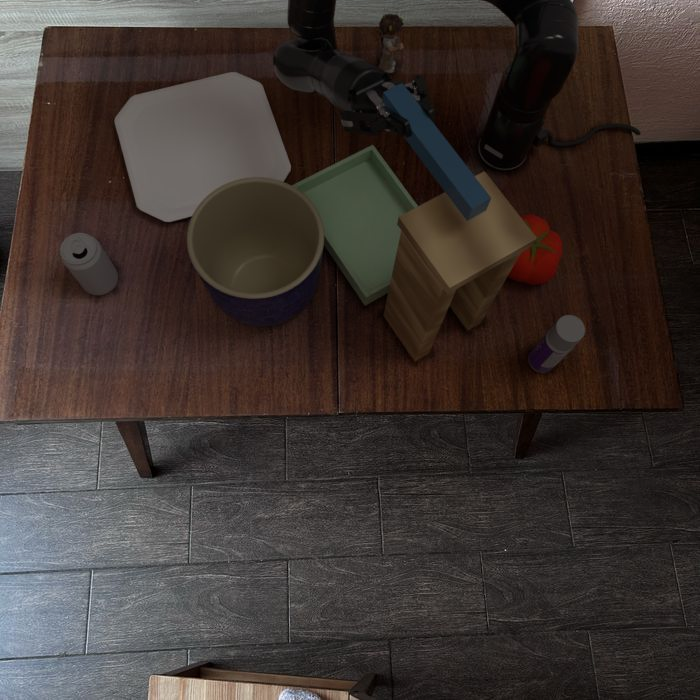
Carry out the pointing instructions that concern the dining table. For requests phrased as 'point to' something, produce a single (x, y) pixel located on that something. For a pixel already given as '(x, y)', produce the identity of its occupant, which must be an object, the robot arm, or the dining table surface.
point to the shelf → (451, 265)
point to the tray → (360, 218)
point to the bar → (438, 154)
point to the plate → (197, 142)
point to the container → (556, 343)
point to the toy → (389, 40)
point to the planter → (257, 249)
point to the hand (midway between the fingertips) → (420, 123)
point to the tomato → (538, 254)
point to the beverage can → (89, 263)
